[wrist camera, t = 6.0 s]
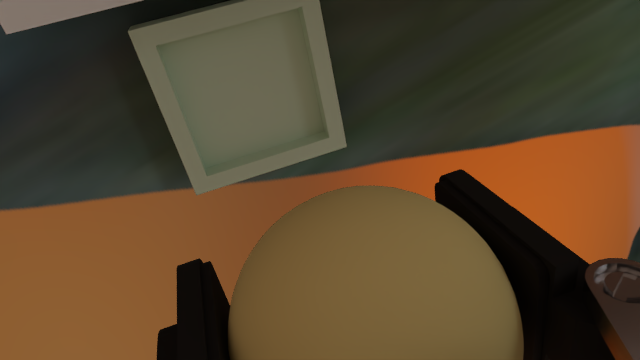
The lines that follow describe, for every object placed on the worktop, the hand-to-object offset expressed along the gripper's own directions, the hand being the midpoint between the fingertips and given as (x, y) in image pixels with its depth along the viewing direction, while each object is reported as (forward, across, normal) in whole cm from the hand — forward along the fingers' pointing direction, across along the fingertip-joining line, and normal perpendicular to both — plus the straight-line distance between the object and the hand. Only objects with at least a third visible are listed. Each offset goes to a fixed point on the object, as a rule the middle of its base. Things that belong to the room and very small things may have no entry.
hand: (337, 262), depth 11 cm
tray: (+18, 0, 0) cm, 18 cm away
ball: (-2, 0, 0) cm, 2 cm away
